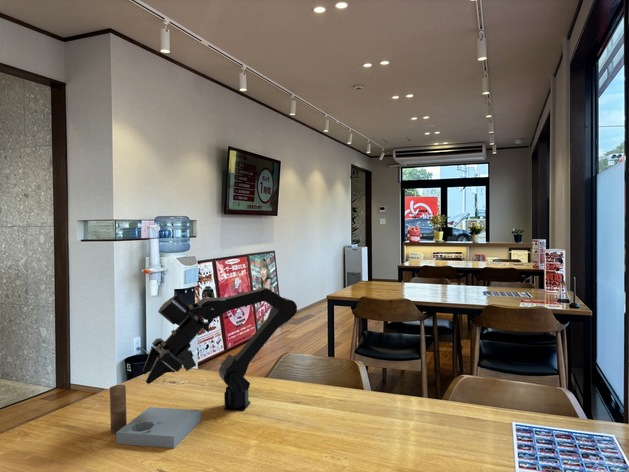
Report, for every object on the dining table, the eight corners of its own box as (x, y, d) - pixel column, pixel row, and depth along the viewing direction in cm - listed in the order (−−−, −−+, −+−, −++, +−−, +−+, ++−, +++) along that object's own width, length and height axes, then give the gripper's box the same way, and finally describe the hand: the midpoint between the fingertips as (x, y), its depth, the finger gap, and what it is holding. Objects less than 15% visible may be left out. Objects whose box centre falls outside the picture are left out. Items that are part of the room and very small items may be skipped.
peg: (129, 427, 122) (128, 385, 122) (121, 434, 118) (119, 390, 118) (116, 426, 123) (115, 384, 123) (107, 433, 119) (106, 389, 119)
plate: (201, 420, 126) (200, 410, 126) (174, 448, 110) (173, 436, 110) (149, 417, 129) (149, 407, 129) (116, 444, 113) (116, 432, 113)
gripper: (212, 359, 123) (172, 405, 118) (197, 343, 139) (161, 384, 135) (182, 334, 119) (140, 381, 114) (171, 321, 136) (133, 362, 131)
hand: (145, 378), depth 124 cm, fingers open, 9 cm apart
